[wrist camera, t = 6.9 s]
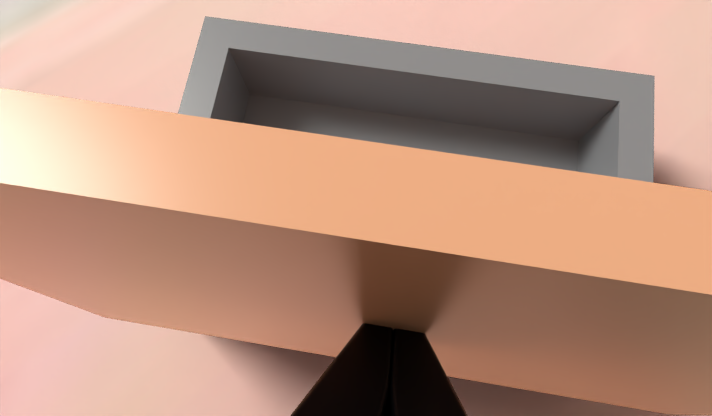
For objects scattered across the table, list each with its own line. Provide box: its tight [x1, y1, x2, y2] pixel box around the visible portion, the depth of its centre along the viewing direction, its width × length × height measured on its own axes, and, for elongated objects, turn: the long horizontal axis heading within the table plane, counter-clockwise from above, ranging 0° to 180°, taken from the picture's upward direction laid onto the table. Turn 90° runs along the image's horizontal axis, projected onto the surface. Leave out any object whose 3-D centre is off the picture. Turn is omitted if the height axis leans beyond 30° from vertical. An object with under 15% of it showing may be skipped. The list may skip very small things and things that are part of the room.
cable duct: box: [178, 16, 654, 183], centre depth 16 cm, size 9×14×4 cm, turn 81°
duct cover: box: [0, 88, 712, 415], centre depth 8 cm, size 10×14×1 cm
